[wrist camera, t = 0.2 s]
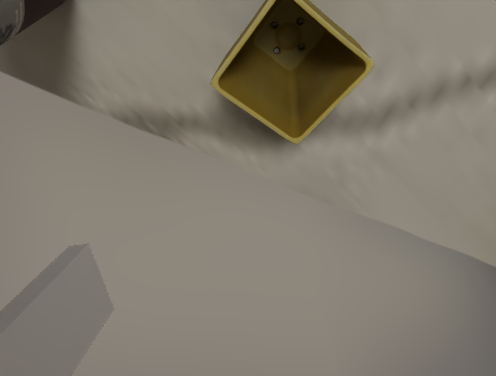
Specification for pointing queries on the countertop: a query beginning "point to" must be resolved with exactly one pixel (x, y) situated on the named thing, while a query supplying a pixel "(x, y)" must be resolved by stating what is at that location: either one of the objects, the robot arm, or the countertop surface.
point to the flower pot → (291, 68)
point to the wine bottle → (22, 15)
